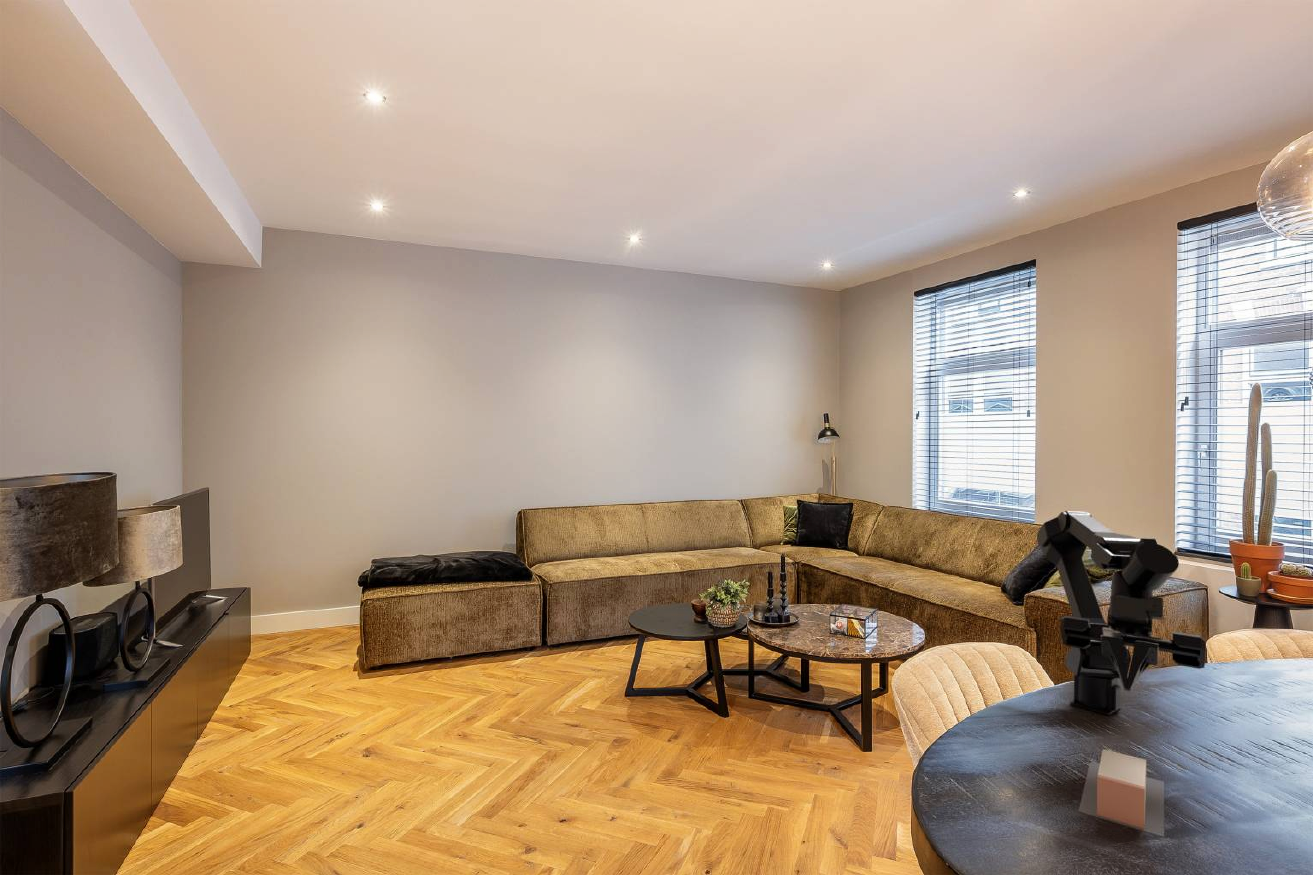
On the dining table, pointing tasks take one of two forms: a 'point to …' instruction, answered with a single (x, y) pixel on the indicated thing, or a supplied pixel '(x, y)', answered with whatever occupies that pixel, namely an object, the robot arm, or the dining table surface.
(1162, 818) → the charcoal mat
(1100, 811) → the cream block
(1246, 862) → the dining table surface
